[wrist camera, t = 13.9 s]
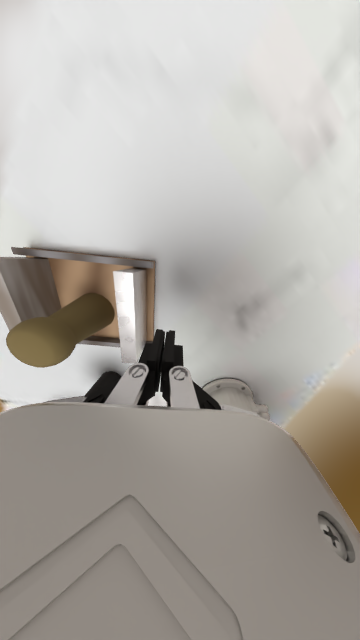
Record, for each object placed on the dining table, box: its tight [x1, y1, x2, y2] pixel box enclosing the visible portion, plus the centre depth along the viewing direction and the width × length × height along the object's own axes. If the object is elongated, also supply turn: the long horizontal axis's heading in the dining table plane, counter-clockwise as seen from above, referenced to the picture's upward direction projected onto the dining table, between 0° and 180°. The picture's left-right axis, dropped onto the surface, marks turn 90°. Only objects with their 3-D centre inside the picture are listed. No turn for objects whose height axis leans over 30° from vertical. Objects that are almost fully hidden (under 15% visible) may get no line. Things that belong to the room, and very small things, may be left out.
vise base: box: [0, 247, 155, 349], centre depth 19 cm, size 18×14×7 cm
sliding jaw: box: [113, 268, 147, 364], centre depth 19 cm, size 2×12×6 cm, turn 174°
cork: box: [6, 293, 115, 368], centre depth 17 cm, size 6×6×11 cm
